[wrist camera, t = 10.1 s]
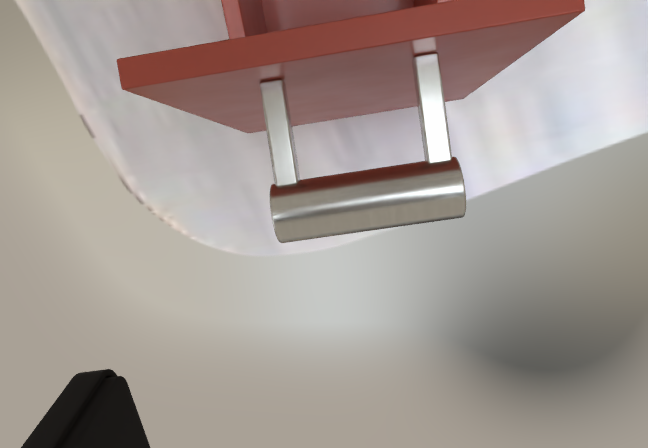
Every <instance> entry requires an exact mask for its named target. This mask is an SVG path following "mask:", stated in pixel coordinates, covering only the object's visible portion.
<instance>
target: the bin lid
mask: <svg viewBox="0 0 648 448" xmlns="http://www.w3.org/2000/svg"><path fill="white" fill-rule="evenodd" d="M583 11H585V5H584V0H452V1H446V2H440V3H435V4H429V5H423V6H417V7H412V8H406V9H400V10H395V11H389V12H383V13H378V14H372V15H366V16H360V17H355V18H349V19H343V20H338V21H332V22H326V23H320V24H315V25H309V26H303V27H298V28H292V29H286V30H280V31H275V32H269V33H263V34H258V35H252V36H246V37H240V38H235V39H229V40H223V41H218V42H212V43H206V44H200V45H195V46H189V47H183V48H178V49H172V50H166V51H160V52H155V53H149V54H143V55H138V56H132V57H126V58H121V59H117V65H118V70H119V76H120V81H121V87H122V89H123V90H126V91H129V92H131V93H134V94H137V95H140V96H143V97H146V98H149V99H151V100H154V101H157V102H160V103H163V104H166V105H169V106H171V107H174V108H177V109H180V110H183V111H186V112H189V113H191V114H194V115H197V116H200V117H203V118H206V119H209V120H212V121H214V122H217V123H220V124H223V125H226V126H229V127H232V128H234V129H237V130H240V131H243V132H246V133H253V132H259V131H265V130H267V136H268V143H269V149H270V155H271V162H272V168H273V174H274V181H275V184H272V185H271V188H270V208H271V216H272V221H273V226H274V230H275V233H276V236H277V239H278V240H279V242H280V243H285V242H292V241H300V240H307V239H314V238H321V237H328V236H335V235H342V234H349V233H356V232H363V231H370V230H377V229H384V228H391V227H398V226H405V225H412V224H419V223H426V222H434V221H440V220H448V219H454V218H461V217H463V216H464V215H465V210H466V195H465V186H464V180H463V175H462V170H461V167H460V164H459V162H458V160H457V158H456V157H452V155H451V147H450V139H449V132H448V124H447V116H446V108H445V102H447V101H453V100H459V99H464V98H465V97H466V96H468V95H469V94H470V93H472V92H473V91H475V90H476V89H477V88H479V87H480V86H482V85H483V84H484V83H486V82H487V81H488V80H490V79H491V78H493V77H494V76H495V75H497V74H498V73H499V72H501V71H502V70H504V69H505V68H506V67H508V66H509V65H510V64H512V63H513V62H515V61H516V60H517V59H519V58H520V57H521V56H523V55H524V54H526V53H527V52H528V51H530V50H531V49H532V48H534V47H535V46H537V45H538V44H539V43H541V42H542V41H544V40H545V39H546V38H548V37H549V36H550V35H552V34H553V33H555V32H556V31H557V30H559V29H560V28H561V27H563V26H564V25H566V24H567V23H568V22H570V21H571V20H572V19H574V18H575V17H577V16H578V15H579V14H581V13H582V12H583ZM416 106H418V112H419V119H420V127H421V134H422V142H423V149H424V157H425V161H422V162H416V163H409V164H402V165H396V166H389V167H382V168H376V169H369V170H363V171H356V172H349V173H343V174H336V175H330V176H323V177H316V178H310V179H303V180H300V175H299V169H298V162H297V156H296V149H295V142H294V136H293V129H292V126H297V125H303V124H309V123H316V122H322V121H328V120H334V119H341V118H347V117H353V116H359V115H366V114H372V113H378V112H384V111H391V110H397V109H403V108H409V107H416Z"/></svg>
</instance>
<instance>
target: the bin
mask: <svg viewBox="0 0 648 448" xmlns="http://www.w3.org/2000/svg"><path fill="white" fill-rule="evenodd" d="M221 1H222V6H223V11H224V16H225V20H226V25H227V30H228V34H229V39H235V38H240V37H246V36H252V35H258V34H263V33H269V32H275V31H280V30H286V29H292V28H298V27H303V26H309V25H315V24H320V23H326V22H332V21H338V20H343V19H349V18H355V17H360V16H366V15H372V14H378V13H383V12H389V11H395V10H400V9H406V8H412V7H417V6H423V5H429V4H435V3H440V2H446V1H452V0H221Z"/></svg>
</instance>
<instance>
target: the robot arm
mask: <svg viewBox="0 0 648 448" xmlns="http://www.w3.org/2000/svg"><path fill="white" fill-rule="evenodd" d="M21 448H150V446H149V443H148V440H147V437H146V435H145V431H144V429H143V426H142V423H141V420H140V418H139V415H138V412H137V409H136V406H135V403H134V401H133V398H132V395H131V393H130V389H129V387H128V384H127V382H126V380H125V378H124V377H122V376H117V375H116V373H115V372H114V371H113V370H110V369H107V370H99V371H91V372H83V373H78V374H76V375H75V376H74V377H73V378H72V379H71V381H70V382H69V384H68V385H67V386H66V388H65V389H64V390H63V392H62V393H61V394H60V396H59V397H58V398H57V400H56V401H55V403H54V404H53V405H52V407H51V408H50V409H49V411H48V412H47V413H46V415H45V416H44V418H43V419H42V420H41V421H40V423H39V424H38V425H37V427H36V428H35V429H34V431H33V432H32V434H31V435H30V436H29V438H28V439H27V440H26V442H25V443H24V444H23V446H22V447H21Z"/></svg>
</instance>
